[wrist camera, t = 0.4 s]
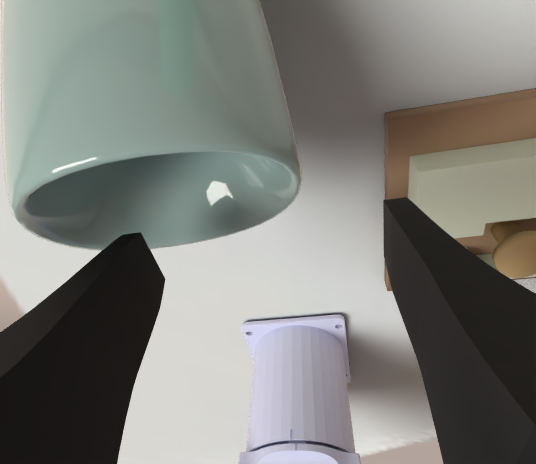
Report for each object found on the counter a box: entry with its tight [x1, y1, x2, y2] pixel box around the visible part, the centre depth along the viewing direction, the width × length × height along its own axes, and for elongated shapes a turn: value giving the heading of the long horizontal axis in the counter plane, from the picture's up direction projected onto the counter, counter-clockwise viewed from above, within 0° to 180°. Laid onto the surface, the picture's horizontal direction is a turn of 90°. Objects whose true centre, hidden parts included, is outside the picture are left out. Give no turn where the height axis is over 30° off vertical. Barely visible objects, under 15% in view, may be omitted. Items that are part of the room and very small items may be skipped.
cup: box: [0, 0, 302, 250], centre depth 12 cm, size 8×8×10 cm
